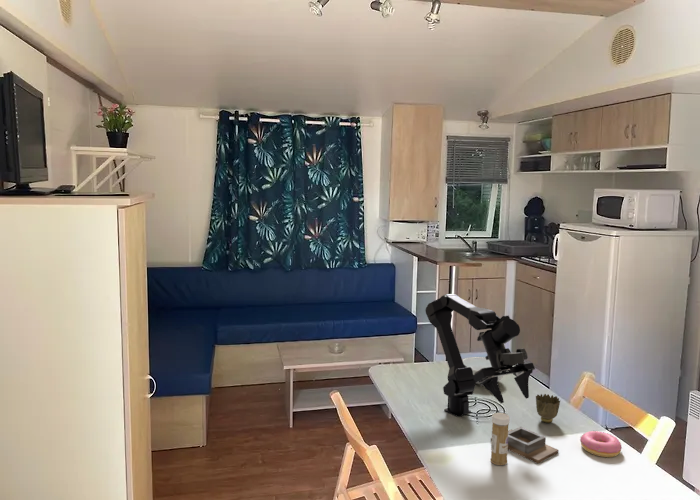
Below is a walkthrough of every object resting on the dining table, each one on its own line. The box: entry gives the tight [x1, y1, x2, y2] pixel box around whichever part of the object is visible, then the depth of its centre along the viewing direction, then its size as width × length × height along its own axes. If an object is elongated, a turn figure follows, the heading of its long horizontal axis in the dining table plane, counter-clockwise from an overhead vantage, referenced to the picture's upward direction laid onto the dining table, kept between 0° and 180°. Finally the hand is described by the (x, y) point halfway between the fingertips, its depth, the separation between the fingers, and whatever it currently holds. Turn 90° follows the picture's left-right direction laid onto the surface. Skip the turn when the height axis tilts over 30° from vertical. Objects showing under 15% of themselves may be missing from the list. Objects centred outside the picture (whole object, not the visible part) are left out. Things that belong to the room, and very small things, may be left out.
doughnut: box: [579, 430, 623, 458], centre depth 156 cm, size 11×11×4 cm
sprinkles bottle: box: [490, 412, 510, 466], centre depth 148 cm, size 5×5×13 cm
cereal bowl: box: [462, 356, 505, 385], centre depth 210 cm, size 17×17×7 cm
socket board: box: [490, 426, 559, 464], centre depth 157 cm, size 16×10×4 cm, turn 37°
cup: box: [535, 393, 561, 424], centre depth 174 cm, size 8×7×8 cm
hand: (515, 400), depth 155 cm, fingers open, 9 cm apart
